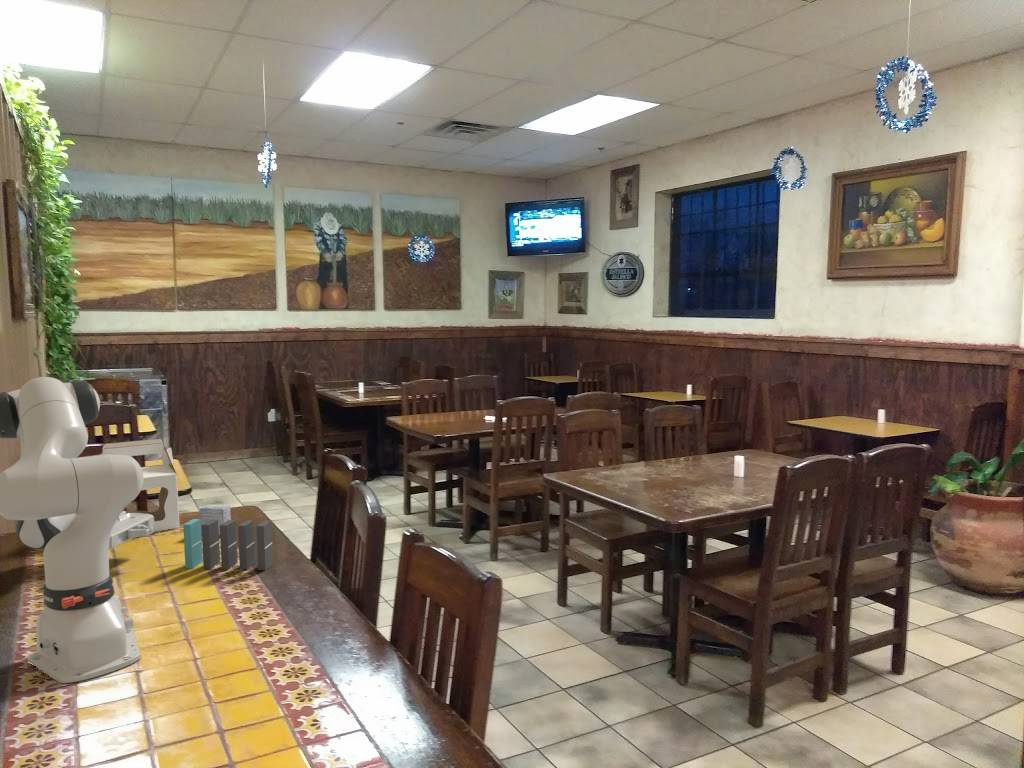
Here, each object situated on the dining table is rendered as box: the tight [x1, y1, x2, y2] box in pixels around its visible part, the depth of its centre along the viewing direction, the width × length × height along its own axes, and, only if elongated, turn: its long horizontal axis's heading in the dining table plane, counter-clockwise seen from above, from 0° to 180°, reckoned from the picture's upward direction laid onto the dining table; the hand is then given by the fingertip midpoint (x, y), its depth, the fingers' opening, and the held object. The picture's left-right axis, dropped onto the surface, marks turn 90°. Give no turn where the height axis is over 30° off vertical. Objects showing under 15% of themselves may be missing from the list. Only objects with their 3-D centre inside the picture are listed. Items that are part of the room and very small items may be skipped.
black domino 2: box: [219, 519, 239, 570], centre depth 191 cm, size 2×5×12 cm, turn 175°
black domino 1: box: [201, 519, 221, 570], centre depth 191 cm, size 2×5×12 cm, turn 175°
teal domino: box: [182, 518, 203, 569], centre depth 192 cm, size 2×5×12 cm, turn 174°
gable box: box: [93, 438, 180, 533], centre depth 223 cm, size 22×13×28 cm, turn 124°
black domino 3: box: [237, 519, 257, 570], centre depth 191 cm, size 2×5×12 cm, turn 175°
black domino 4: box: [255, 520, 274, 571], centre depth 190 cm, size 2×5×12 cm, turn 175°
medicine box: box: [198, 504, 232, 537], centre depth 219 cm, size 8×4×9 cm, turn 84°
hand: (150, 531), depth 193 cm, fingers closed
